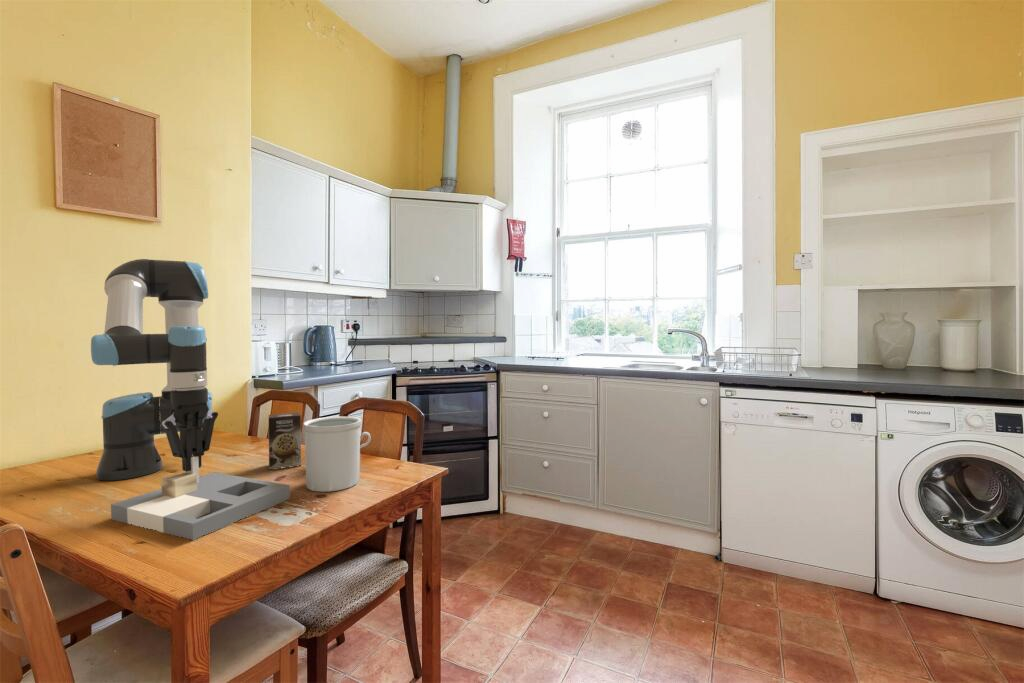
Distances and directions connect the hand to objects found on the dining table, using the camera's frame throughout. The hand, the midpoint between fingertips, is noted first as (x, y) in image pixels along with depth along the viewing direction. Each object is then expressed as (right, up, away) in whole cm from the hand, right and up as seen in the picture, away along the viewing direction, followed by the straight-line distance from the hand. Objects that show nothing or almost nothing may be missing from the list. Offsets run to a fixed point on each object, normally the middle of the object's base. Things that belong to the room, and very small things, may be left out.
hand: (192, 482), depth 113 cm
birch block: (-1, -2, -3) cm, 3 cm away
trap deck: (+6, -5, -4) cm, 9 cm away
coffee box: (+8, -4, +30) cm, 31 cm away
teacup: (+27, -4, +31) cm, 41 cm away
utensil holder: (+30, -5, +13) cm, 33 cm away
